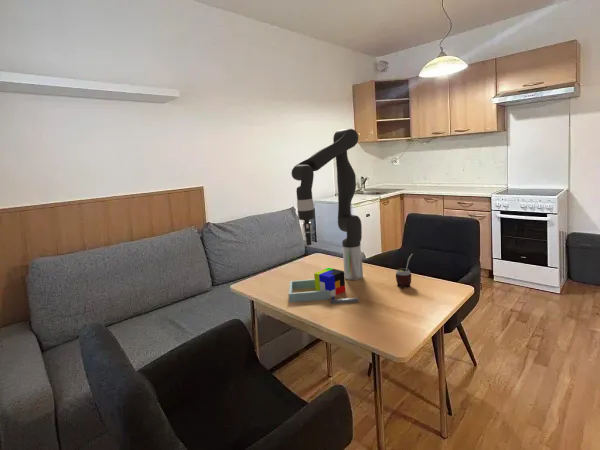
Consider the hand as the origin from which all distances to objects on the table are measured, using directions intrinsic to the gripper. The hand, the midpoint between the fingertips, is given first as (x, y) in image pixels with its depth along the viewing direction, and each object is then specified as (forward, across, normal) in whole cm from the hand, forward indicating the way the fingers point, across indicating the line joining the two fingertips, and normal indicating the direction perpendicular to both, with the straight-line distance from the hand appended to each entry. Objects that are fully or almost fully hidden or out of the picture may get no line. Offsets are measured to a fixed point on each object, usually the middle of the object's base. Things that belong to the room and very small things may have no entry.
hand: (308, 242), depth 178 cm
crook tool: (+25, -13, -14) cm, 31 cm away
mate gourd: (+25, -1, -43) cm, 50 cm away
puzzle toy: (+25, -1, -8) cm, 26 cm away
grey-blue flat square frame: (+25, -1, +2) cm, 25 cm away
